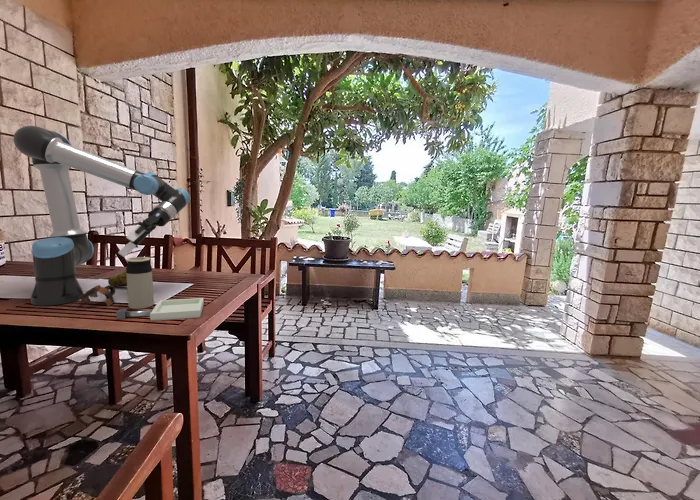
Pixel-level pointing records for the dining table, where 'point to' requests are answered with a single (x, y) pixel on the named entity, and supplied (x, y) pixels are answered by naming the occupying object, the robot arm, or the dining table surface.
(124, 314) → the metal bolt
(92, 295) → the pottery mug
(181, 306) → the tray
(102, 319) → the dining table surface
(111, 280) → the olive green oval lump
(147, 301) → the travel mug
